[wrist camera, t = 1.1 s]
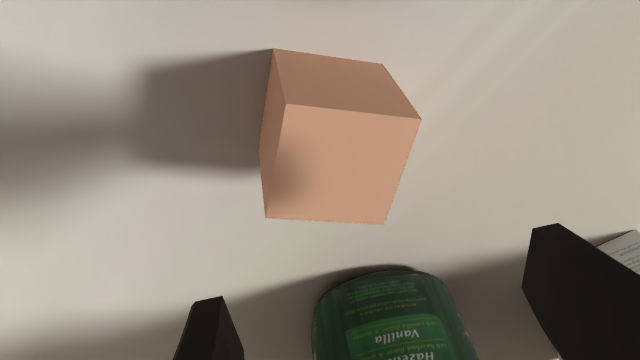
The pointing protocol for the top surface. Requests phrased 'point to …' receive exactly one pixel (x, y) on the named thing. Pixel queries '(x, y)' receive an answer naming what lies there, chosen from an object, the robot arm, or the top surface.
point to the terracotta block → (332, 139)
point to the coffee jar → (389, 320)
